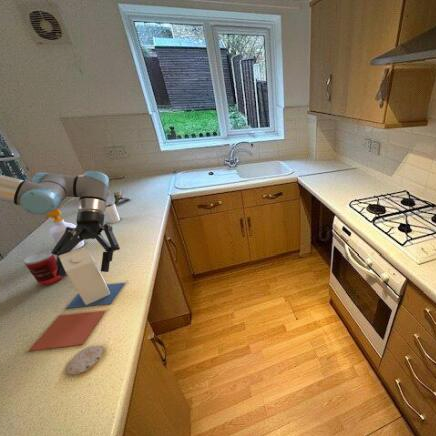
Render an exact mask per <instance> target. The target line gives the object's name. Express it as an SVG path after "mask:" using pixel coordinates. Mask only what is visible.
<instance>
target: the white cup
mask: <svg viewBox="0 0 436 436" xmlns="http://www.w3.org/2000/svg"><path fill="white" fill-rule="evenodd" d="M104 215H105V217H104V218H105V219H106V221H107V224H115V223H118V222H120V221H121V218H120V216H119V215H120V214H119V213H118V209H117V206H116V204H115V202H106V209H105V214H104Z"/></svg>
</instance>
